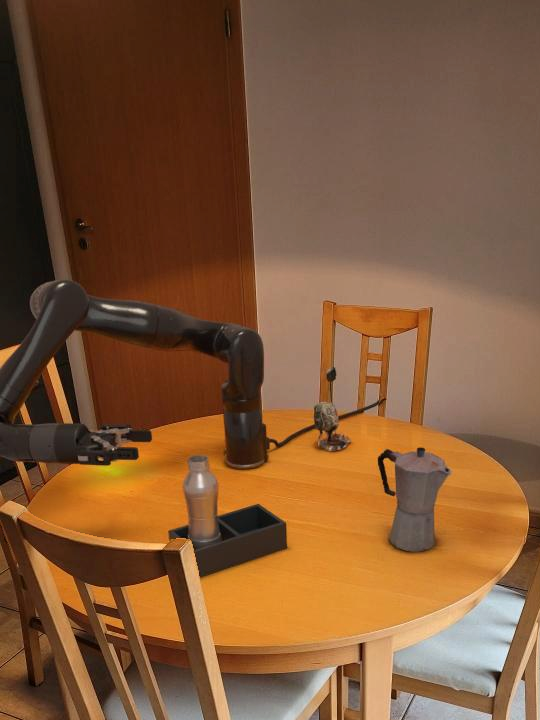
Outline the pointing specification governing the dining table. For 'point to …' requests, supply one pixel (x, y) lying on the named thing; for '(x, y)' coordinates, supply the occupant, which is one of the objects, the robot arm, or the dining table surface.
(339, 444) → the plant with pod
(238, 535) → the compartment box
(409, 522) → the moka pot
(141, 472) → the dining table surface
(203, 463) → the plastic bottle
